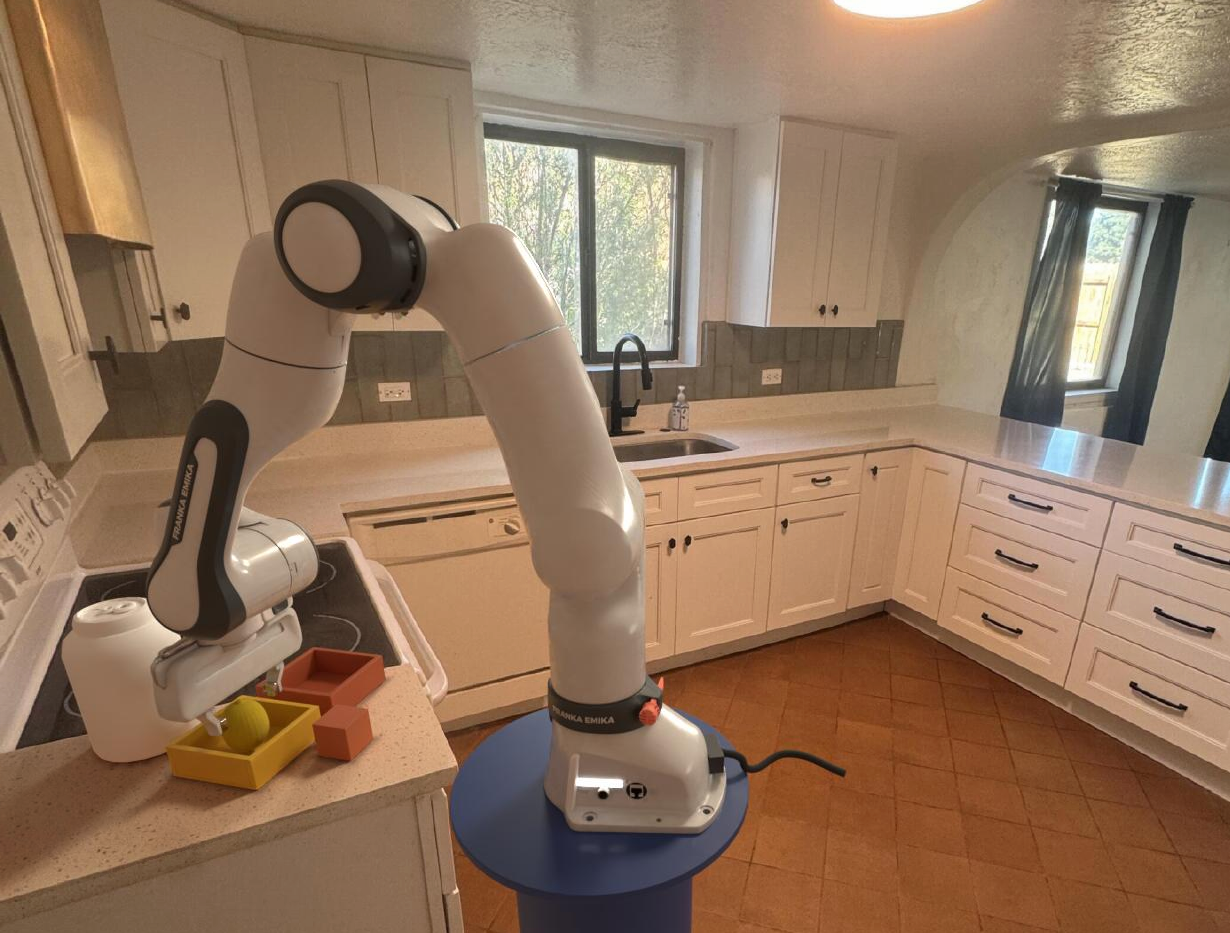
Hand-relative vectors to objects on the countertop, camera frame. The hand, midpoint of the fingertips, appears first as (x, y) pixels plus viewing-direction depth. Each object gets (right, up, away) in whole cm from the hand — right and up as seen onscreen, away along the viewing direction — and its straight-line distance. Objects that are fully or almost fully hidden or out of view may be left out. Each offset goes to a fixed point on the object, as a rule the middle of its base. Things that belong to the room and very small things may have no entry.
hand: (247, 712), depth 92 cm
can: (-17, -5, +5) cm, 18 cm away
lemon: (-1, -6, +2) cm, 6 cm away
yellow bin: (-1, -6, +2) cm, 6 cm away
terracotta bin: (+3, -1, +16) cm, 16 cm away
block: (+11, -6, +3) cm, 13 cm away
